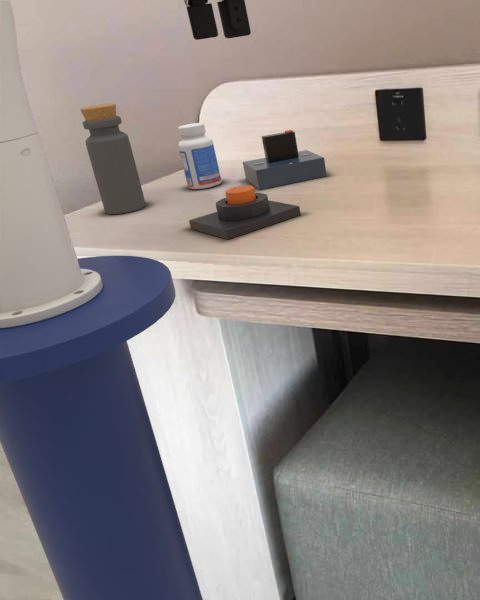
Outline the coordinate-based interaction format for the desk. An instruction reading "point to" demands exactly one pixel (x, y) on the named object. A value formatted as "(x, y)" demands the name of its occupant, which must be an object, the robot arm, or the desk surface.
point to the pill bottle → (198, 157)
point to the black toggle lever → (280, 146)
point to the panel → (284, 170)
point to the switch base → (243, 217)
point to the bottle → (112, 160)
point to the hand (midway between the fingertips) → (221, 37)
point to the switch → (240, 194)
